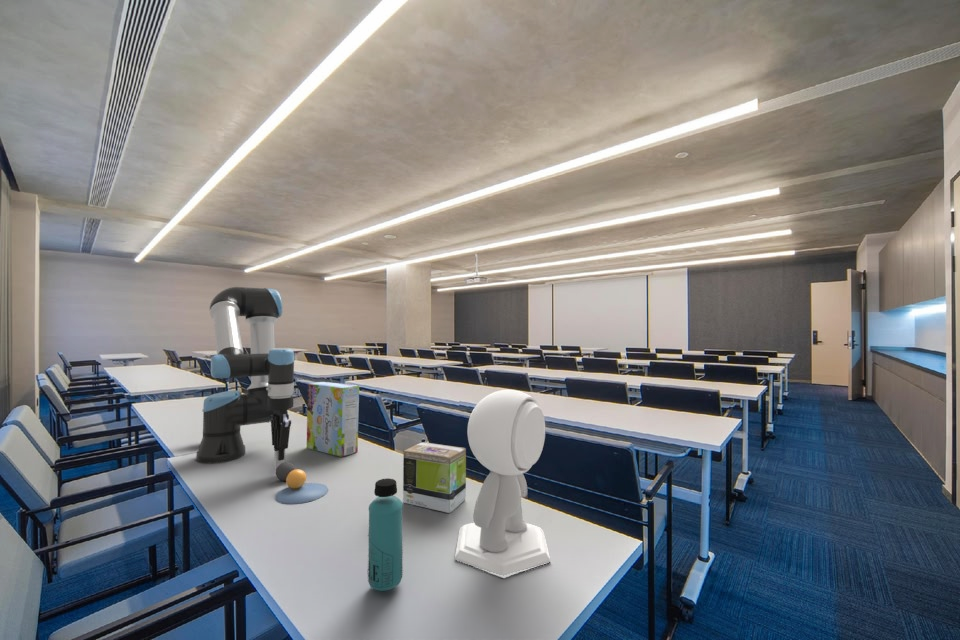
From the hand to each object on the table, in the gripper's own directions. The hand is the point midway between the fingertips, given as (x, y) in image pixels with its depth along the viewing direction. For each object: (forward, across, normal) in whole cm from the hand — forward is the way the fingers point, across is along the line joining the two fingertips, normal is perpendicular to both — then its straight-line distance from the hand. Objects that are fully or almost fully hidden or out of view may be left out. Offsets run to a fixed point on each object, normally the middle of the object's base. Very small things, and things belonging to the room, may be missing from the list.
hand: (279, 469), depth 129 cm
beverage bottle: (+2, +72, -4) cm, 72 cm away
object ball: (-1, +14, 0) cm, 14 cm away
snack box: (+2, -13, +24) cm, 27 cm away
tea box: (+2, +50, +25) cm, 55 cm away
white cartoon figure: (+2, +78, +22) cm, 81 cm away
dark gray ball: (-1, +6, 0) cm, 6 cm away
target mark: (+2, +19, 0) cm, 19 cm away
